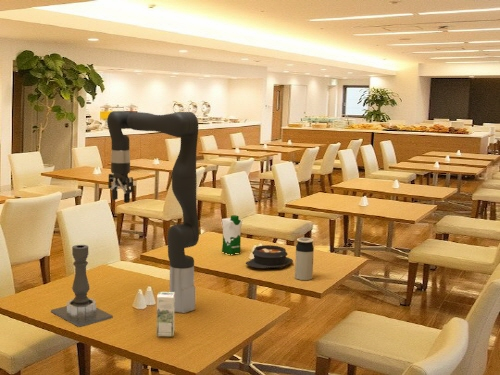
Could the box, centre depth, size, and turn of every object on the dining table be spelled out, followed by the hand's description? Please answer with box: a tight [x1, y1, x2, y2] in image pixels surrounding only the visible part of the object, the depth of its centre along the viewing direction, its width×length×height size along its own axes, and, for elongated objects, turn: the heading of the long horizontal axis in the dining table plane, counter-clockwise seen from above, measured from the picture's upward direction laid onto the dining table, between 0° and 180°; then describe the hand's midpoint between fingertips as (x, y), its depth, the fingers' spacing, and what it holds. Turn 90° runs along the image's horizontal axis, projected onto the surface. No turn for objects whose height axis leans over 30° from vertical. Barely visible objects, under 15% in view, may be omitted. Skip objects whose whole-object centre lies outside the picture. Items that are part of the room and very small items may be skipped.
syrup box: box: [156, 291, 175, 338], centre depth 218 cm, size 6×6×14 cm
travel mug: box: [294, 237, 315, 281], centre depth 287 cm, size 8×8×18 cm
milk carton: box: [221, 215, 243, 255], centre depth 326 cm, size 9×9×20 cm
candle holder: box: [71, 244, 90, 306], centre depth 234 cm, size 6×6×25 cm
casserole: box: [245, 244, 294, 269], centre depth 306 cm, size 25×19×8 cm
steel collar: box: [50, 297, 114, 328], centre depth 235 cm, size 20×14×5 cm
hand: (120, 201), depth 257 cm, fingers open, 8 cm apart
